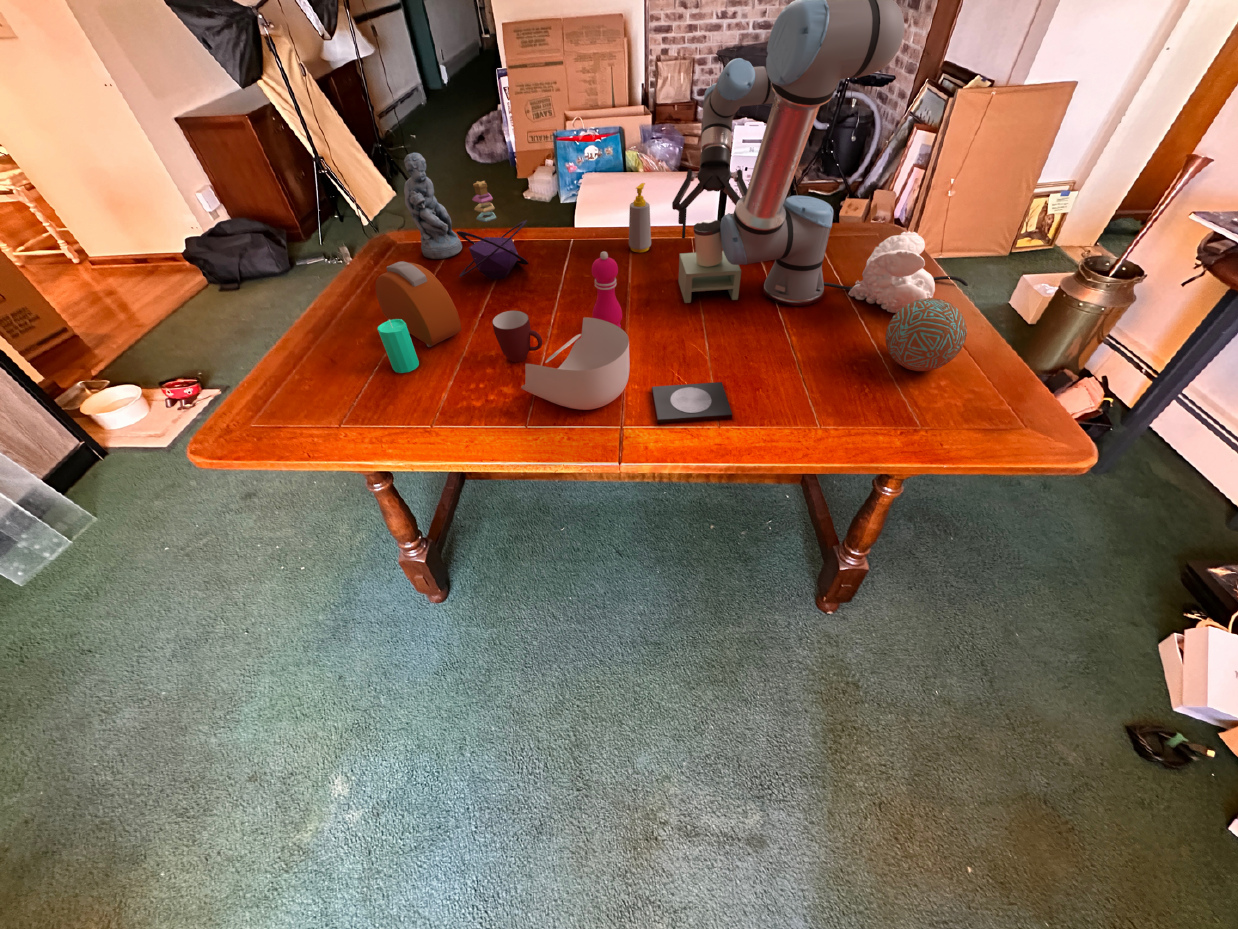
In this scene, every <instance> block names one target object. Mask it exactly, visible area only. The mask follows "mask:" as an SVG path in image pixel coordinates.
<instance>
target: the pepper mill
mask: <svg viewBox="0 0 1238 929" xmlns="http://www.w3.org/2000/svg"><path fill="white" fill-rule="evenodd" d="M591 274H592V277H593V278H594V288H596V290H597V291H596V292H597V297H596V301H595V304H594V306H593V309H592V316H591V318H596V319H600V320H604V321H607V322H610V323H612V324H614V325H616V326H618V327H620V328H621V329H622V325H621V322H622V319H623V310H622V307H621V304H620V302H619V301H618V299H617V297H616V291H615V290H616V287H617V284H618V283H617V278H616V277H617V276H618V274H619V267H618V264H617V262H616V261H615V259H614V258H611V257H609V253H608V252H607V251H605V250H604V251H601V252H600V254H599V257H598V258H596V259H595V260H594V261H593V263H592V265H591Z"/></svg>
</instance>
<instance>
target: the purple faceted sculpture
mask: <svg viewBox="0 0 1238 929" xmlns="http://www.w3.org/2000/svg"><path fill="white" fill-rule="evenodd" d="M472 185H473V188H474V192H475V195H474V196H473V197H472V199H471V201H472V202H475V203H478V204H477V205H476V206H475V207H474V209H473V210H474V211H476V212H478V213H480V214H478V215H477V217H476V218H475V219H476V220H477V221H480V222H482V223H489V222H492V221H495V220H496V219H497V216H496V214H495V213H494V212H493V211H494V210H495V208H496V207H495V206H494V204H493V203H492V201H493V200H494V198H493V196H492V194H490V192H488V185H487V182H486V180H482V181H480V180H479V181H478V180H477V181H476V182H474V183H473V184H472ZM527 222H528V219H525V220H522V221H521V222H518V223H517V224H516V225H514V226H513V227H512V228H510V229H509V230H508V231H507V232H506V233H504V234H503V235H502V236H499V237H498V236H497V237H496V236H495V237H491V236H485V237H481V236H478V235H475V234H473V233H470V232H466V231H462V230H458V231H456V234H457V236H458V237H460V238H462V239H463V240H465V241H467V242H468V243H470V244H472V245H471V246H469V247H468V250H469V253H470V256H471V258H472V259H473V260H472V262H470V263H469V264H468V265H467V266H466V267H465V268H464V269H463V270H462V272H460V274H459V275H458V276H459V278H462V277H465V276H466V275H467V274H469V273H471V272H472V271H473V270H475V269H476V268H477V270H478V272H479V273H481V274H482V275H483V276H484V277H486V278H487V279H488V280H504V279H506V277H507V276H508V275H509V274H510V273H511V272H512V270H513V268H514V267H515V265H516V264H519V265H524V266H527V265H529V264H530V263H529V261H527V259H525V258H524V257H522V256H521V255H519V253H518V251H517V249H516V246H515V243H514V241H513V237H514V236H515V235H516V234H517V233H519V232H520V230H521V229H523V228H524V226H525V225H526V224H527ZM518 227H519V228H518ZM516 229H517V230H516ZM481 230H482V231H484V230H485V229H482V228H481ZM514 230H515V231H514ZM512 231H514V232H513V233H512V234H511V235H510V237H505V236H507V235H509V234H510V233H511V232H512ZM468 237H471V238H474V239H477V240H478V241H477V242H475V241H473V240H472V239H470V238H468ZM473 264H474V266H473V267H472V268H470V267H471V266H472V265H473ZM468 269H469V270H468Z"/></svg>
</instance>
